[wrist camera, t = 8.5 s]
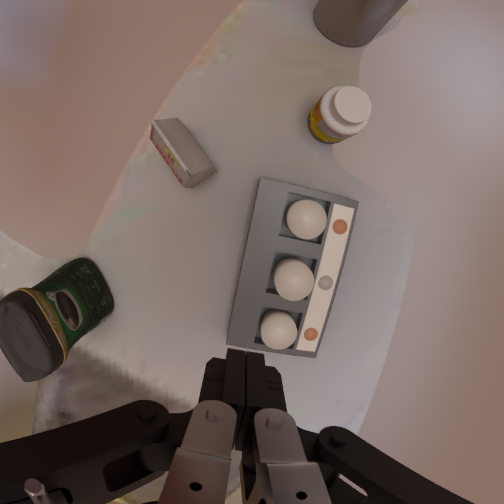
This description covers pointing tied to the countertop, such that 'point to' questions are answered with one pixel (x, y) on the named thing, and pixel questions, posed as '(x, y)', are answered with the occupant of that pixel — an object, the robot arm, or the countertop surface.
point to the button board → (281, 247)
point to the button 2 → (305, 218)
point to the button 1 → (278, 329)
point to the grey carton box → (181, 152)
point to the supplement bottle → (340, 114)
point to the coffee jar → (52, 318)
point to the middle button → (293, 279)
